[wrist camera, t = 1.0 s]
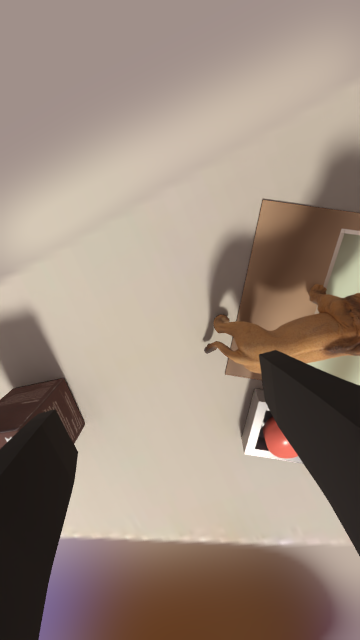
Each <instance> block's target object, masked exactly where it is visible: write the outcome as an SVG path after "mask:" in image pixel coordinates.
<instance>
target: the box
mask: <svg viewBox="0 0 360 640" xmlns="http://www.w3.org/2000/svg"><path fill="white" fill-rule="evenodd" d="M54 409H56V411H57V413H58V415H59V417H60V419H61V420H62V422H63V424H64V426H65V428H66V430H67V432H68V434H69V436H70V438H71V440H72V442H73V444H74V443H75V441H76V439H77V438H78V436H79V434H80V433H81V431H82V429H83V427H84V425H85V423H84V421H83V419H82V417H81V415H80V413H79V410H78V408H77V406H76V404H75V402H74V400H73V397H72V395H71V393H70V391H69V389H68V386H67V384H66V382H65V380H64V378H61V379H57V380H52V381H47V382H43V383H38V384H33V385H28V386H24V387H19V388H14V389H12V390H11V391H10V392H9V393H8V394H6V395H5V396H4V397H3V398H2V399H1V400H0V449H1V448H2V447H3V446H4V445H5V444H6V443H7V442H8V441H9V440H10V439H11V438H12V437H13V436H14V435H15V434H16V433H17V432H18V431H19V430H20V429H21V428H22V427H23V426H25V425H26V424H27V423H28V422H29V421H30V420H31V419H32V418H34V417H35V416H36V415H37V414H39V413H43V412H46V411H50V410H54Z"/></svg>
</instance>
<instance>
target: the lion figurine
mask: <svg viewBox="0 0 360 640" xmlns="http://www.w3.org/2000/svg"><path fill="white" fill-rule="evenodd" d="M326 291H327V289H326V288H325V287H324V286H323V285H319V284H315V285H314V286H313V287H312V288H311V290H310V292H309V298H310V299H309V300H310V302H312V303H314V304H317V306H318V308H317V310H318V312H319V313H318V314H313V315H309V316H305V317H301V318H298V319H295V320H292V321H290V322H287V323H285V324H283V325H281V326H280V327H278V328H277V329H276V330H273V331H268V330H265V329H264V328H262V327H260V326H259V325H257V324H253V323H249V322H244V321H236V322H229V321H230V320H229V318H227V316H225V315H222V314H221V315H218V316H217V317H216V318H215V319H214V328H215V330H216V331H217V332H218V333H227V334H229V335H231V336H233V338H234V339H235V342H236V344H237V347H238V349H237V350H235V351H233V350H232V349H230V348H229V347H228V346H226V345H224V344H223V343H221V342H218V341H216V342H214V343H211V344H208V345H207V347H205V349H204V351H205V353H207V354H208V353H210V352H212V351H214V350H216V349H217V348H219V350H220V351H221V352H222V353H223V354H224V355H225V356H227V357H228V358H230V359H231V360H233V361H234V362H236V363H239V364H242V365H243V366H244V367H245V368H246V369H248V370H249V371H251V372H254V373H261V368H260V361H259V354H262V353H266V352H270V351H273V350H277V351H280V352H282V353H284V354H287V355H289V356H291V357H293V358H295V359H298V360H300V361H302V362H304V363H311V362H317V361H321V360H326V359H330V358H335V357H340V356H347V355H350V356H360V293H356V294H353V295H350V296H347V297H345V298H340V297H338V296H334V295H330V294H326Z"/></svg>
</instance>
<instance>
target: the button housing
mask: <svg viewBox="0 0 360 640" xmlns="http://www.w3.org/2000/svg"><path fill="white" fill-rule="evenodd" d="M271 417H273V416H272V414H271V412H270V410H269V408H268V406H267V404H266V402H265V398H264V391H263V390H262V389H256V388H255V389H254V393H253V397H252V401H251V404H250V408H249V412H248V416H247V420H246V423H245V427H244V431H243V435H242V444H243V449H244V454H248V455H254V456H260V457H266V458H272V459H278V460H284V461H290V462H296V463H302V464H303V462H302V461H301V459H300V458H299V456H297V457H294V458H288V459H285V458H279V457H277V456H275V455H273V454H272V453H271V452H270V451H269V450H268V448H267V445H266V441H265V438H264V434H263V427H264V424H265V423H266V421H267V420H268V419H270V418H271Z"/></svg>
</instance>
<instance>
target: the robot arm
mask: <svg viewBox="0 0 360 640" xmlns="http://www.w3.org/2000/svg"><path fill="white" fill-rule="evenodd" d="M259 361H260V368H261V376H262V383H263V391H264V398H265V402H266V404H267V406H268V408H269V410H270V412H271V414H272V416H273V418H274V420H275V421H276V423H277V425H278V427H279V428H280V430H281V431H282V433H283V434H284V436H285V437H286V439H287V440H288V442H289V443H290V445H291V446H292V448H293V449H294V451H295V452H296V453H297V455H298V456H299V458H300V459H301V461H302V462H303V464H304V465H305V467H306V468H307V470H308V471H309V472H310V474H311V475H312V477H313V478H314V480H315V481H316V483H317V484H318V486H319V487H320V489H321V490H322V492H323V493H324V495H325V496H326V498H327V500H328V501H329V503H330V504H331V506H332V508H333V510H334V511H335V513H336V515H337V517H338V518H339V520H340V522H341V524H342V525H343V527H344V529H345V531H346V533H347V534H348V536H349V538H350V540H351V541H352V543H353V545H354V547H355V549H356V550H357V552H358V554H359V556H360V385H357V384H354V383H352V382H349V381H346V380H344V379H341V378H339V377H336V376H334V375H332V374H329V373H327V372H325V371H322V370H320V369H318V368H315V367H313V366H311V365H309V364H306V363H304V362H302V361H300V360H298V359H295V358H293V357H291V356H289V355H287V354H284V353H282V352H280V351H277V350H273V351H270V352H266V353H262V354H259ZM77 456H78V451H77V449H76V447H75V445H74V444H73V442H72V440H71V438H70V436H69V434H68V432H67V430H66V428H65V426H64V424H63V422H62V420H61V419H60V417H59V415H58V413H57V411H56V409H54V410H50V411H46V412H43V413H39V414H37V415H36V416H35V417H34V418H32V419H31V420H30V421H29V422H28V423H27V424H26V425H25V426H23V427H22V428H21V429H20V430H19V431H18V432H17V433H16V434H15V435H14V436H13V437H12V438H11V439H10V440H9V441H8V442H7V443H6V444H5V445H4V446H3V447H2V448H1V449H0V640H38V638H39V632H40V627H41V621H42V616H43V610H44V604H45V599H46V593H47V588H48V583H49V578H50V574H51V570H52V565H53V561H54V557H55V554H56V550H57V546H58V542H59V539H60V535H61V531H62V527H63V524H64V520H65V516H66V512H67V508H68V505H69V501H70V497H71V493H72V489H73V485H74V479H75V472H76V465H77Z"/></svg>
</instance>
